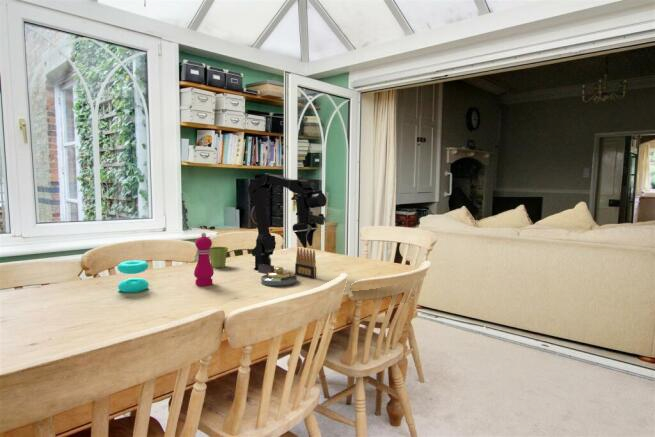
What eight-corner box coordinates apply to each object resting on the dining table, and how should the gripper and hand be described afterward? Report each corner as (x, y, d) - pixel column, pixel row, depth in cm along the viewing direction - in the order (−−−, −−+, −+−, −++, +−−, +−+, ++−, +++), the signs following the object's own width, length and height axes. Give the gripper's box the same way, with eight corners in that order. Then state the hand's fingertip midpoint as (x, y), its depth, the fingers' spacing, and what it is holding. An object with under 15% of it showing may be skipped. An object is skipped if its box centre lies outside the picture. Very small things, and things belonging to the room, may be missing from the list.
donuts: (139, 258, 154) (153, 262, 148) (139, 284, 155) (154, 289, 149) (112, 262, 146) (126, 266, 140) (112, 289, 147) (126, 295, 141)
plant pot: (203, 267, 186) (203, 249, 185) (214, 263, 194) (214, 245, 194) (221, 269, 183) (221, 250, 182) (232, 265, 192) (232, 247, 191)
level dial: (251, 274, 165) (252, 265, 164) (267, 270, 172) (267, 262, 172) (280, 280, 156) (280, 271, 156) (295, 276, 164) (295, 267, 163)
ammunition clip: (316, 278, 171) (317, 250, 170) (313, 279, 169) (314, 250, 168) (297, 274, 177) (298, 246, 176) (294, 274, 176) (295, 247, 175)
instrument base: (257, 286, 156) (257, 278, 156) (265, 277, 170) (265, 270, 170) (293, 287, 155) (294, 279, 155) (298, 278, 169) (299, 271, 169)
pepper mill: (208, 287, 153) (207, 234, 151) (190, 285, 155) (189, 233, 153) (217, 282, 160) (216, 232, 158) (200, 281, 162) (199, 231, 160)
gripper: (317, 206, 159) (322, 246, 159) (327, 207, 177) (331, 242, 177) (289, 210, 162) (294, 249, 161) (302, 210, 180) (306, 245, 180)
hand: (308, 246), depth 170 cm, fingers open, 9 cm apart
